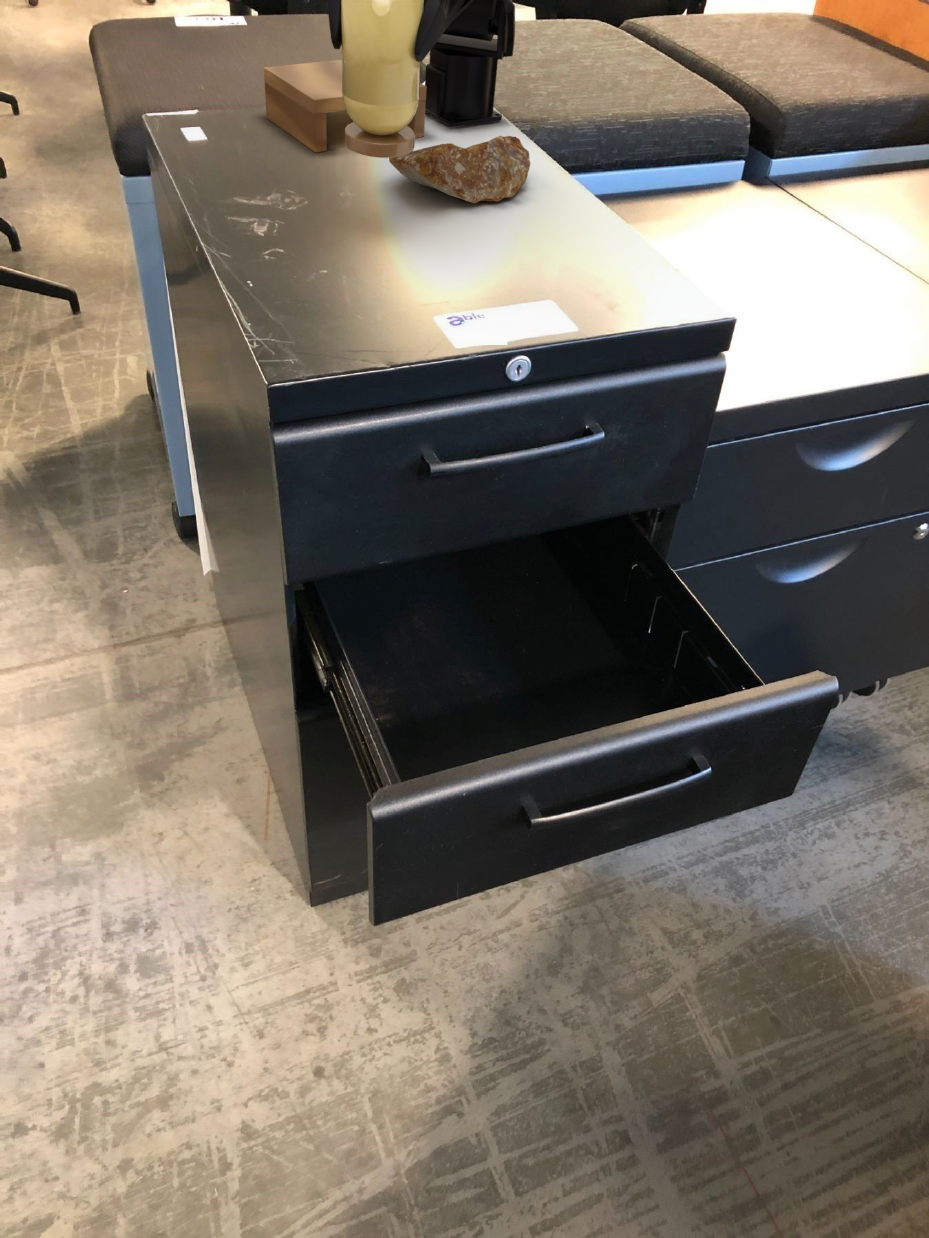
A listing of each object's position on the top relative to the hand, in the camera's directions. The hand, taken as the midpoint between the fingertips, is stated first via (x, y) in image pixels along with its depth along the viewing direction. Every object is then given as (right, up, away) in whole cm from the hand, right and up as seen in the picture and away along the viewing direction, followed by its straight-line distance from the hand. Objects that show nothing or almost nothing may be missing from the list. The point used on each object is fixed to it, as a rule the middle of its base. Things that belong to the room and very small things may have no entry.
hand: (375, 52), depth 67 cm
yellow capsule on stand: (0, -4, +6) cm, 7 cm away
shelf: (-6, +9, +28) cm, 30 cm away
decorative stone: (+6, -1, +19) cm, 20 cm away
